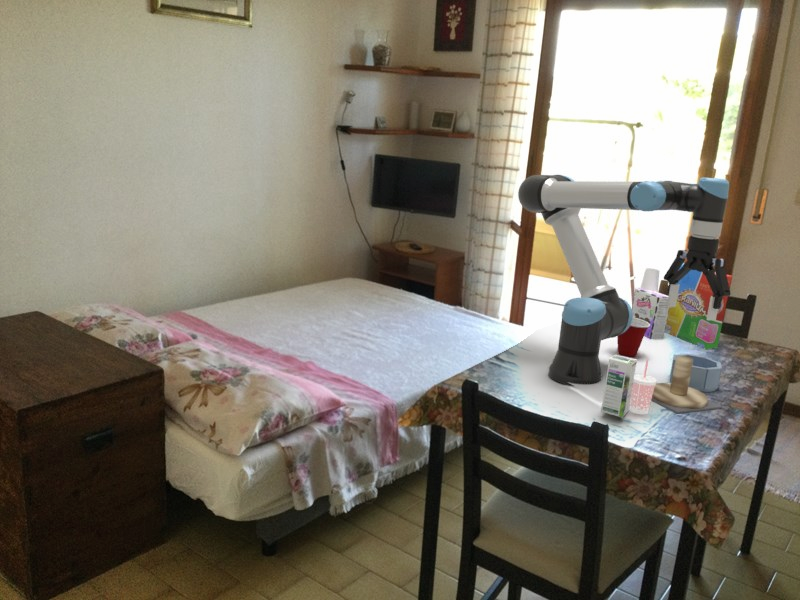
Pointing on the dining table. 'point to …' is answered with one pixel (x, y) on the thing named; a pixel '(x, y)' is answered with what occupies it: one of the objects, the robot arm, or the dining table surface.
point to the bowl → (702, 373)
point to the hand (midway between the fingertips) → (690, 313)
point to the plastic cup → (632, 338)
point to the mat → (678, 410)
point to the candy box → (651, 311)
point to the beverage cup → (642, 392)
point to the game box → (695, 312)
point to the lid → (680, 388)
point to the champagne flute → (650, 280)
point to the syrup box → (618, 385)
